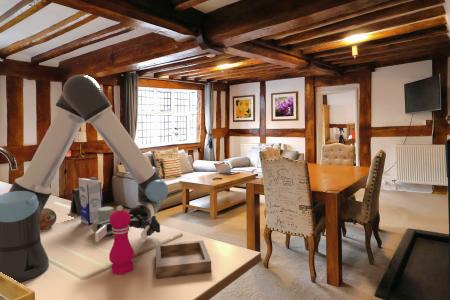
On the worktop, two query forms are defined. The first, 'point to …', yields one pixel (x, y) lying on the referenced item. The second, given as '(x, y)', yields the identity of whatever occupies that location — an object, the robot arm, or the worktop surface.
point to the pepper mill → (121, 242)
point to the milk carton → (90, 199)
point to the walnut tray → (182, 259)
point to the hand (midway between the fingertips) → (119, 237)
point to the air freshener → (102, 217)
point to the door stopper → (75, 202)
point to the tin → (47, 218)
